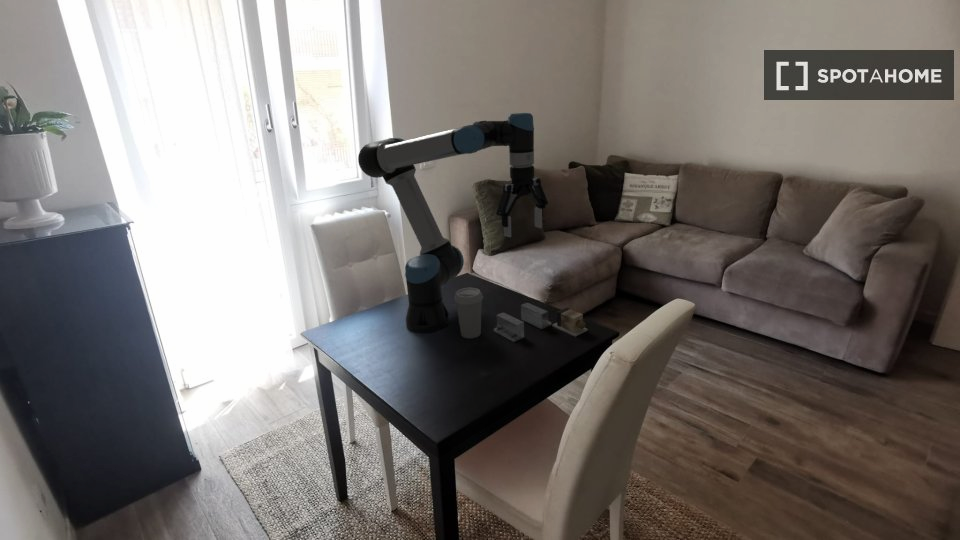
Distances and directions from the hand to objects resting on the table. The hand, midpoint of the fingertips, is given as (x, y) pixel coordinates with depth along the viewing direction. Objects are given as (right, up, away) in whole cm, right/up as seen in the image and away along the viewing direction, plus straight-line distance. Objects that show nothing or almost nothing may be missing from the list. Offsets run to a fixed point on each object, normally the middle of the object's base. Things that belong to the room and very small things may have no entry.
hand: (523, 231), depth 159 cm
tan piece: (+16, -31, +3) cm, 35 cm away
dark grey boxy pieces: (0, -32, +6) cm, 32 cm away
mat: (+16, -32, +4) cm, 36 cm away
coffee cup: (-17, -34, +4) cm, 38 cm away
